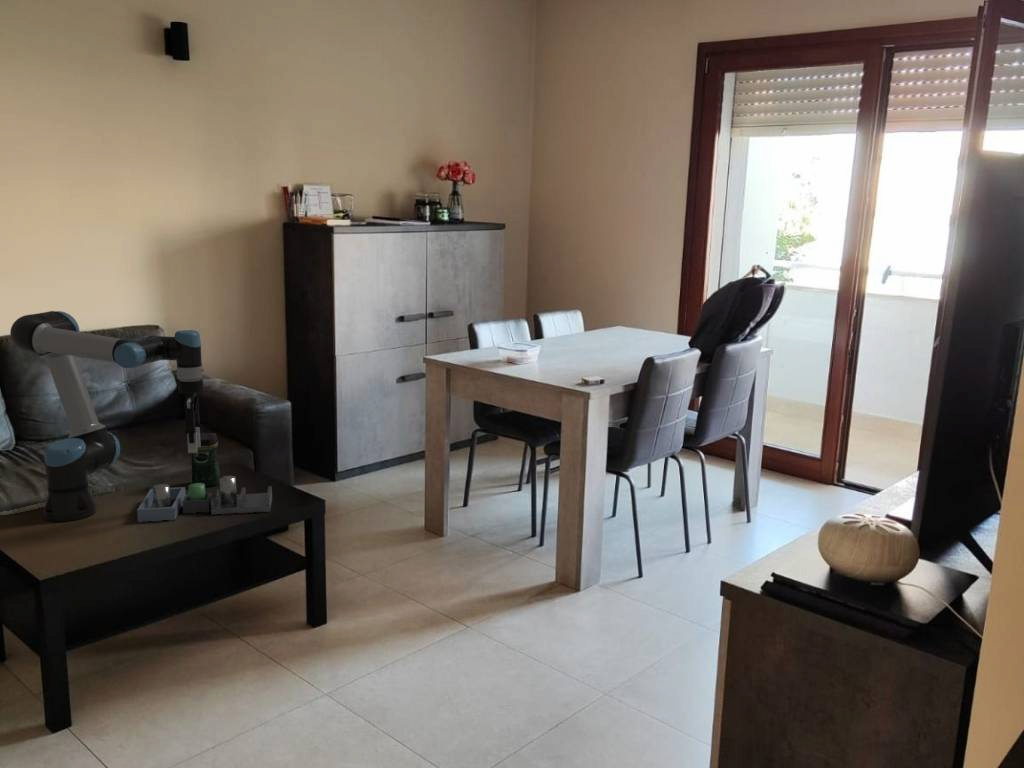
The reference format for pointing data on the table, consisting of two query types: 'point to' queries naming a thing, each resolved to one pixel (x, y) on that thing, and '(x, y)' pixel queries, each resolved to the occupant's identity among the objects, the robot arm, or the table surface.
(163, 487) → the billet
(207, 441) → the coffee jar
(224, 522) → the table surface
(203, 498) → the button
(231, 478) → the seated billet
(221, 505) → the pallet
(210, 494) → the button housing
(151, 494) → the tote
